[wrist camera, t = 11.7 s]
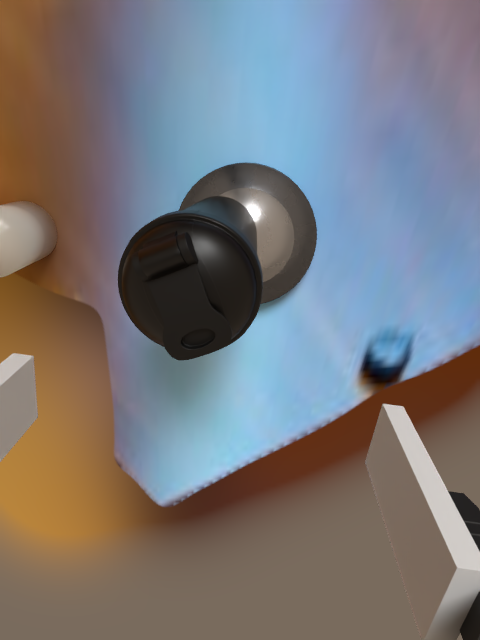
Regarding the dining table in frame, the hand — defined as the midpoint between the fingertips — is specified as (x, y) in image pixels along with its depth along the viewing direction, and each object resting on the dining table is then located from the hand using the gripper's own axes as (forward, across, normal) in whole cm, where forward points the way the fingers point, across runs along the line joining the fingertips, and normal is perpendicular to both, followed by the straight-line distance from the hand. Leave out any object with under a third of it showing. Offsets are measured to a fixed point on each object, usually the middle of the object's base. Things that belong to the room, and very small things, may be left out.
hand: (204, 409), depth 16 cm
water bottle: (+34, -3, 0) cm, 35 cm away
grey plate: (+36, 0, 0) cm, 36 cm away
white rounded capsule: (+36, -26, -4) cm, 45 cm away
